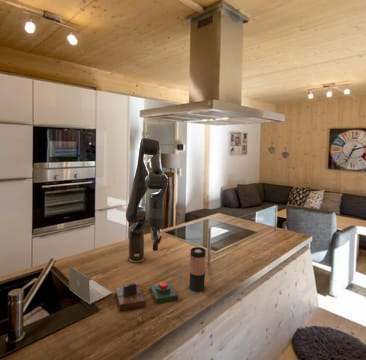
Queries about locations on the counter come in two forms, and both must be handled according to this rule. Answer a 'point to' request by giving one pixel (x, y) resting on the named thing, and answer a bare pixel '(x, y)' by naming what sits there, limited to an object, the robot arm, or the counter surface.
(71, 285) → the laptop
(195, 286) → the travel mug
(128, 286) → the grip knob
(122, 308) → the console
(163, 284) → the red button
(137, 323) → the counter surface
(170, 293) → the button block
